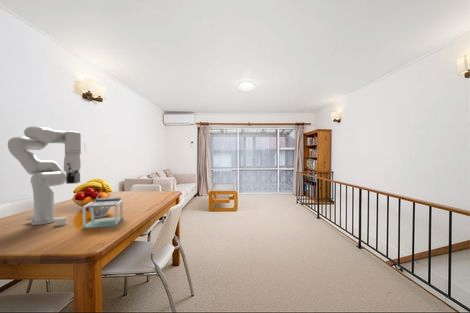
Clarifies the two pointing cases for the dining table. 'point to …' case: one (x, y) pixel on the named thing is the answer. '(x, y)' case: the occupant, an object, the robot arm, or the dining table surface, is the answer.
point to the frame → (102, 222)
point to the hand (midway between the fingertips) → (73, 181)
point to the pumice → (61, 221)
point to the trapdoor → (105, 202)
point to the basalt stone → (76, 178)
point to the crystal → (100, 211)
